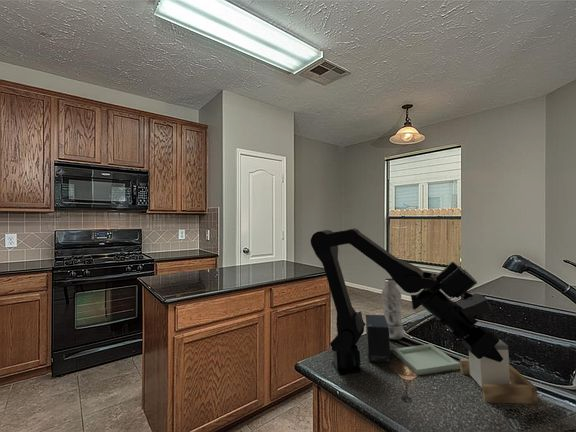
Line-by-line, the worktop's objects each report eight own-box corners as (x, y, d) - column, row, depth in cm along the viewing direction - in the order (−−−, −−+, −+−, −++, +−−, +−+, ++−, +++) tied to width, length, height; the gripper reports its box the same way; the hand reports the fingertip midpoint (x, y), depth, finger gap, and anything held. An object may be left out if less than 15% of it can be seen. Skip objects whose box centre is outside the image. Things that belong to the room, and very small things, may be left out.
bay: (485, 402, 66) (484, 386, 66) (460, 372, 78) (459, 358, 78) (537, 403, 64) (536, 387, 64) (504, 372, 77) (503, 359, 77)
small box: (392, 363, 85) (389, 326, 85) (368, 362, 86) (366, 326, 86) (387, 346, 95) (385, 314, 95) (366, 346, 96) (364, 314, 96)
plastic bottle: (398, 344, 96) (395, 282, 96) (379, 338, 101) (376, 280, 101) (407, 337, 101) (404, 278, 101) (389, 332, 106) (386, 276, 106)
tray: (417, 375, 78) (417, 369, 78) (393, 354, 90) (393, 349, 90) (459, 368, 80) (459, 363, 80) (430, 348, 92) (430, 343, 92)
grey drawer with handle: (481, 388, 69) (479, 342, 69) (469, 374, 75) (467, 332, 75) (510, 388, 68) (507, 342, 68) (495, 374, 74) (493, 332, 74)
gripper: (486, 295, 62) (547, 348, 61) (451, 276, 81) (497, 316, 79) (448, 332, 64) (507, 385, 62) (422, 305, 82) (466, 345, 81)
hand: (493, 353), depth 71 cm, fingers closed on grey drawer with handle, 6 cm apart
